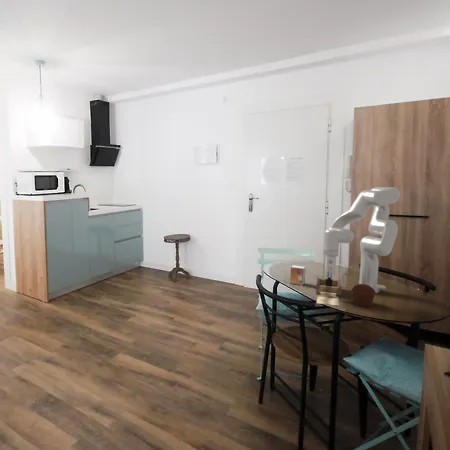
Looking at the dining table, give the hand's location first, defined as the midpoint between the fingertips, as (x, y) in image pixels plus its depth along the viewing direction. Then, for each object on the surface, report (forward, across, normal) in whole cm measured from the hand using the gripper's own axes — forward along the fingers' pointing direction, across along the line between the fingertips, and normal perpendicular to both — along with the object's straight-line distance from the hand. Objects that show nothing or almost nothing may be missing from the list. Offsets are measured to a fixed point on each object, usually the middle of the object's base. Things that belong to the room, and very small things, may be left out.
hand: (328, 285), depth 187 cm
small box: (+7, +21, +18) cm, 28 cm away
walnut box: (+6, +11, 0) cm, 12 cm away
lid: (+7, -5, 0) cm, 8 cm away
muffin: (+7, -4, -17) cm, 19 cm away
